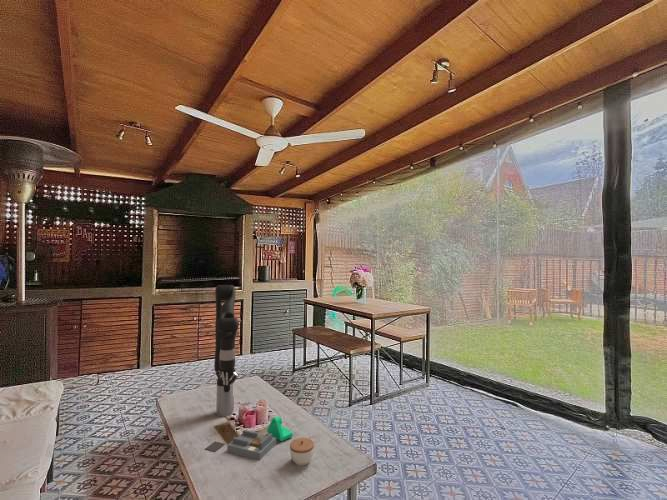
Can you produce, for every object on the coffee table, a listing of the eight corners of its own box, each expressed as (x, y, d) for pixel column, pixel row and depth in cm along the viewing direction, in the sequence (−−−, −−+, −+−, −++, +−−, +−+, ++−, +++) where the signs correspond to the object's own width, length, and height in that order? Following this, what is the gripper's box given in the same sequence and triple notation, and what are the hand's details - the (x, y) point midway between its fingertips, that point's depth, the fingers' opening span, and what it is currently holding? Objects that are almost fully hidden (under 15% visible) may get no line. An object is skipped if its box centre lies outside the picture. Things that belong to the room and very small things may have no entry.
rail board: (245, 436, 168) (245, 424, 169) (276, 443, 162) (276, 431, 162) (227, 451, 155) (227, 438, 156) (260, 459, 149) (260, 446, 149)
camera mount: (293, 437, 168) (293, 417, 168) (280, 443, 163) (281, 422, 163) (279, 429, 177) (279, 409, 177) (267, 434, 171) (267, 414, 172)
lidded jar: (291, 454, 154) (292, 433, 154) (314, 454, 153) (315, 434, 154) (287, 468, 143) (288, 446, 143) (312, 469, 142) (312, 447, 143)
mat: (215, 441, 164) (215, 441, 164) (225, 444, 161) (225, 443, 161) (204, 449, 157) (204, 448, 157) (215, 452, 155) (215, 451, 155)
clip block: (256, 437, 161) (264, 439, 159) (256, 445, 161) (264, 447, 159) (250, 442, 156) (258, 444, 155) (250, 451, 156) (258, 453, 154)
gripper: (242, 356, 169) (242, 390, 169) (221, 353, 173) (221, 386, 173) (233, 361, 161) (233, 397, 161) (211, 358, 166) (211, 392, 166)
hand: (226, 391), depth 167 cm, fingers closed
